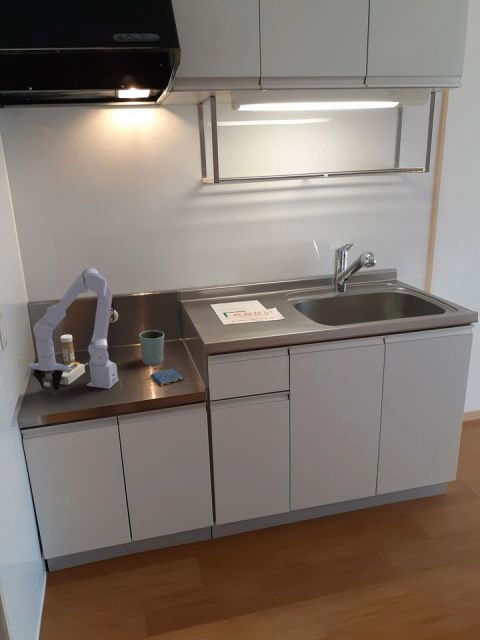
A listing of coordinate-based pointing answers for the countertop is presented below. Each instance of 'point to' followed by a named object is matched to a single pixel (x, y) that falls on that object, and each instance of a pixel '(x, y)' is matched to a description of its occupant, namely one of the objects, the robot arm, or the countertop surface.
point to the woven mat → (166, 376)
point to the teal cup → (152, 346)
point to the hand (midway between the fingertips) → (51, 388)
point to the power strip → (73, 372)
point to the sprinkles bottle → (67, 349)
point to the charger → (49, 385)
